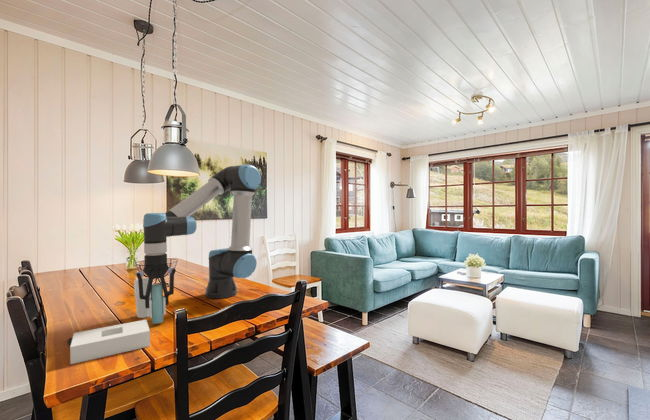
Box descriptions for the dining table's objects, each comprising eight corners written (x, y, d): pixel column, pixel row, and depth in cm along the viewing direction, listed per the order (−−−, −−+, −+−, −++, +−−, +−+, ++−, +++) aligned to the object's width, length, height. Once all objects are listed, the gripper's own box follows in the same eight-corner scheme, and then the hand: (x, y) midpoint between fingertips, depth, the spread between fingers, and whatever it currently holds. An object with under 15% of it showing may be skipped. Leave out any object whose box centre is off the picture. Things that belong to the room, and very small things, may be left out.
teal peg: (162, 318, 122) (161, 283, 122) (164, 322, 119) (163, 285, 118) (151, 321, 120) (150, 284, 119) (152, 324, 116) (151, 287, 116)
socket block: (146, 333, 111) (146, 319, 111) (150, 346, 101) (149, 330, 101) (74, 348, 100) (74, 332, 99) (70, 364, 90) (70, 347, 90)
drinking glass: (136, 314, 130) (136, 278, 130) (155, 312, 132) (154, 277, 132) (133, 320, 124) (132, 282, 123) (152, 317, 126) (151, 280, 126)
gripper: (178, 250, 126) (179, 307, 127) (128, 254, 117) (130, 316, 117) (181, 252, 120) (183, 312, 121) (129, 257, 110) (131, 323, 111)
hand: (157, 314), depth 119 cm, fingers closed on teal peg, 4 cm apart
